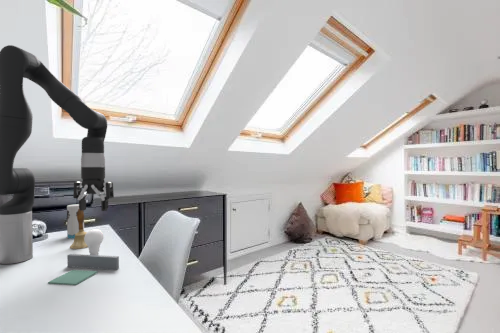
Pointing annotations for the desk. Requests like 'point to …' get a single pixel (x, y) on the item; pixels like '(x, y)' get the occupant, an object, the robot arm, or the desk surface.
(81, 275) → the pad
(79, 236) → the hand bell
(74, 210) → the cup
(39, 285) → the desk surface
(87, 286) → the desk surface
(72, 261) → the wall
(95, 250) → the lightbulb
